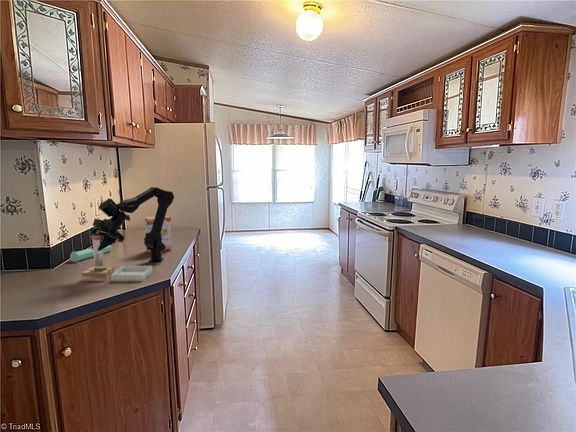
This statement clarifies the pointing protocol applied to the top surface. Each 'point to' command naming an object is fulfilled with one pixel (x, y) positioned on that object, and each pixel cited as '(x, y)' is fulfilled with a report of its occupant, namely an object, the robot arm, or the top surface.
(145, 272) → the tray
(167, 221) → the cracker box
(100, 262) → the clear tall cylinder
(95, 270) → the socket block
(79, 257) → the container
